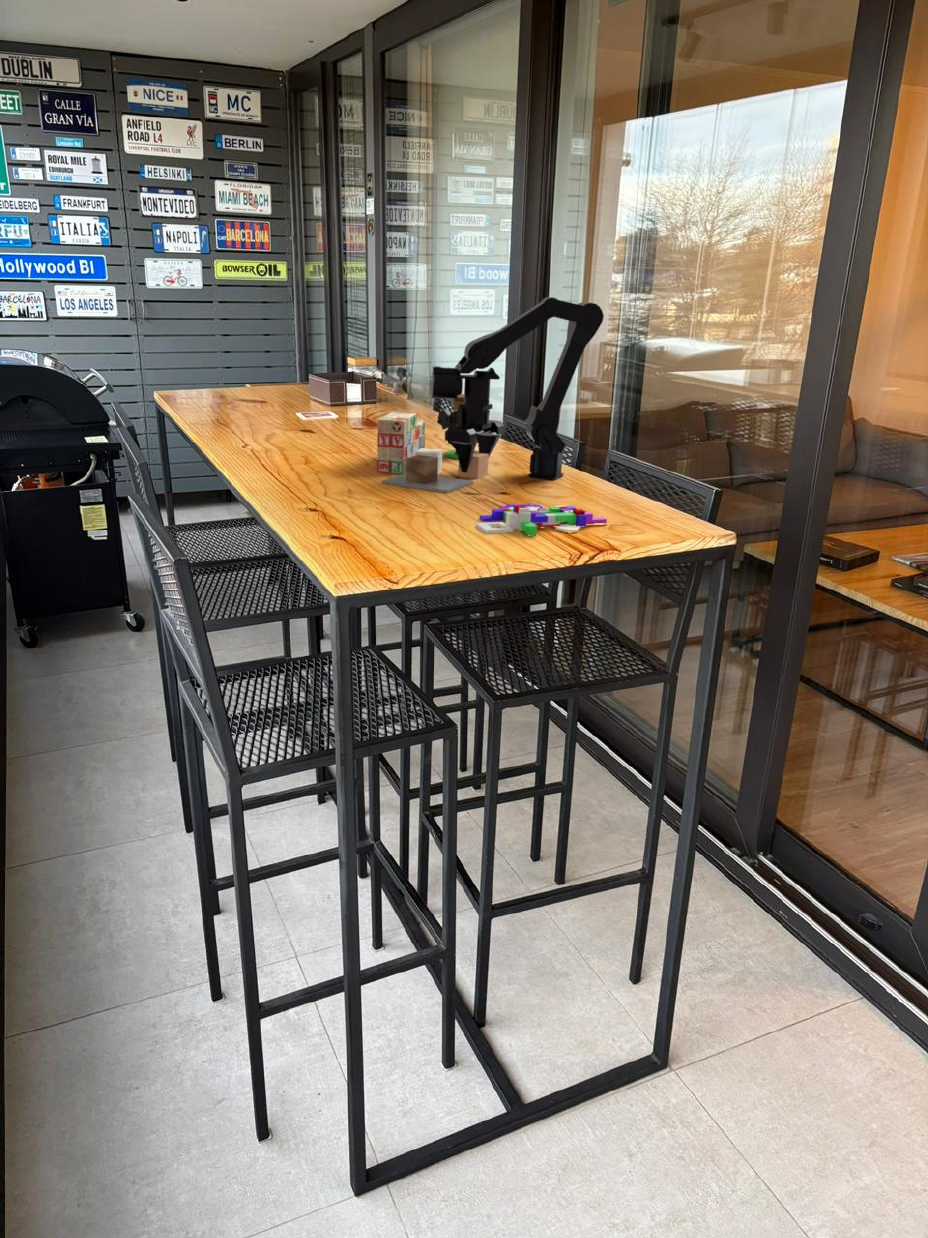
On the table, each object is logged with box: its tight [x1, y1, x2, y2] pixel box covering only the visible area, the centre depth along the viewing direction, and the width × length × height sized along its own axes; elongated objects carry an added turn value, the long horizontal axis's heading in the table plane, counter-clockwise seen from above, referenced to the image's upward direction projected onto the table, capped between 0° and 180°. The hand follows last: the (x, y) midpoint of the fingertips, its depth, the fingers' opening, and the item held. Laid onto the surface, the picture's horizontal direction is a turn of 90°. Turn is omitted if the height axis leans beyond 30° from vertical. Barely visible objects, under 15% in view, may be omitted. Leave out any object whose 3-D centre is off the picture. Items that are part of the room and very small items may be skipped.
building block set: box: [475, 503, 608, 536], centre depth 170 cm, size 25×20×4 cm
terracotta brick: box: [457, 452, 489, 480], centre depth 206 cm, size 5×5×5 cm
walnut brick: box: [406, 455, 438, 484], centre depth 195 cm, size 5×5×5 cm
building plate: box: [381, 473, 474, 494], centre depth 197 cm, size 16×12×1 cm
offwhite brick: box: [416, 447, 443, 475], centre depth 208 cm, size 5×5×5 cm
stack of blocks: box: [376, 411, 426, 475], centre depth 213 cm, size 21×6×12 cm, turn 169°
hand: (473, 468), depth 206 cm, fingers open, 9 cm apart
